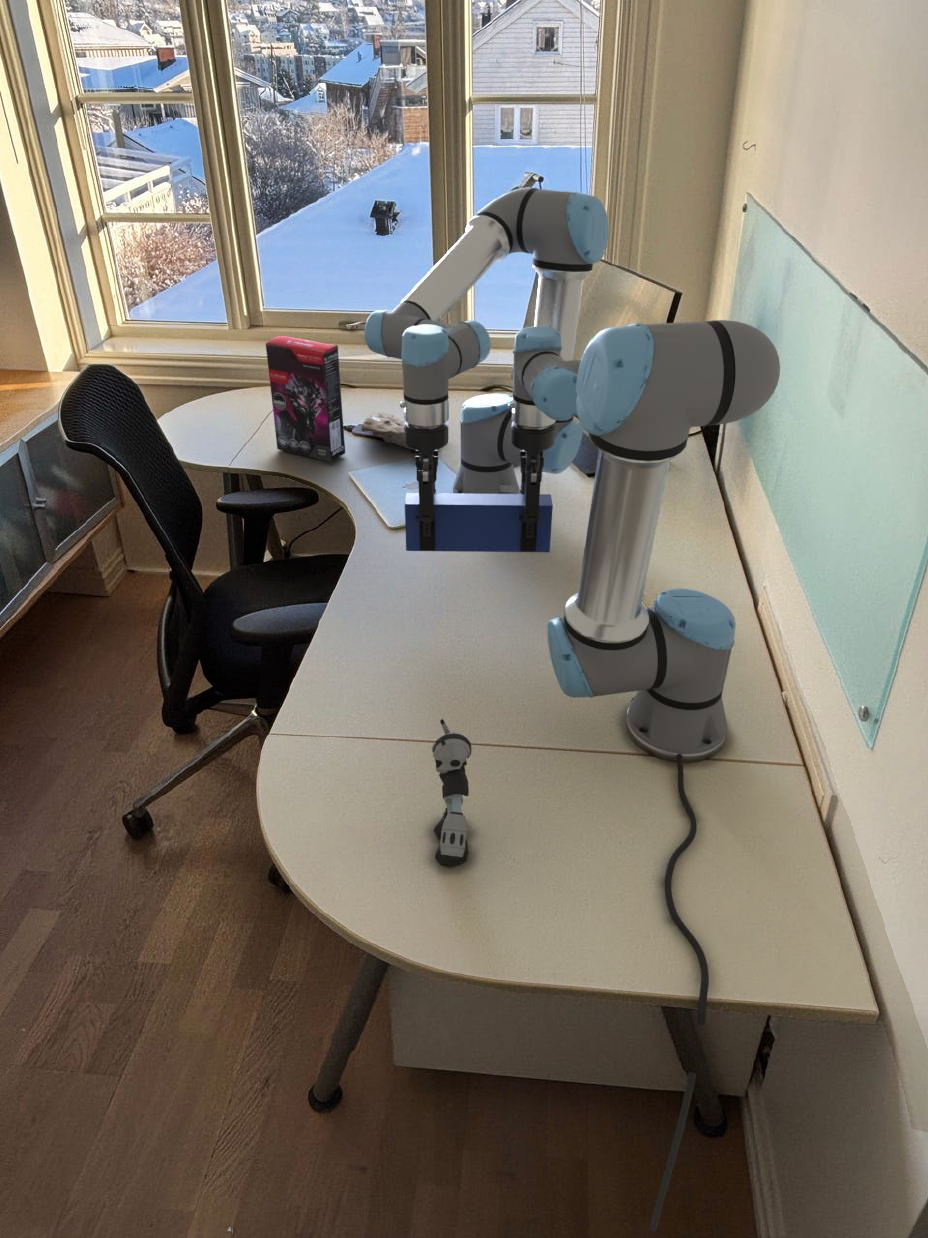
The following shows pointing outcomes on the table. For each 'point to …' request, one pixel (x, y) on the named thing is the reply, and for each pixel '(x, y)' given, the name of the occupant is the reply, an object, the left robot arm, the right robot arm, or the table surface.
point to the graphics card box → (306, 397)
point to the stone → (386, 428)
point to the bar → (478, 522)
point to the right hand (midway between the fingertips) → (527, 542)
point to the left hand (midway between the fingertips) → (428, 542)
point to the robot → (452, 796)
